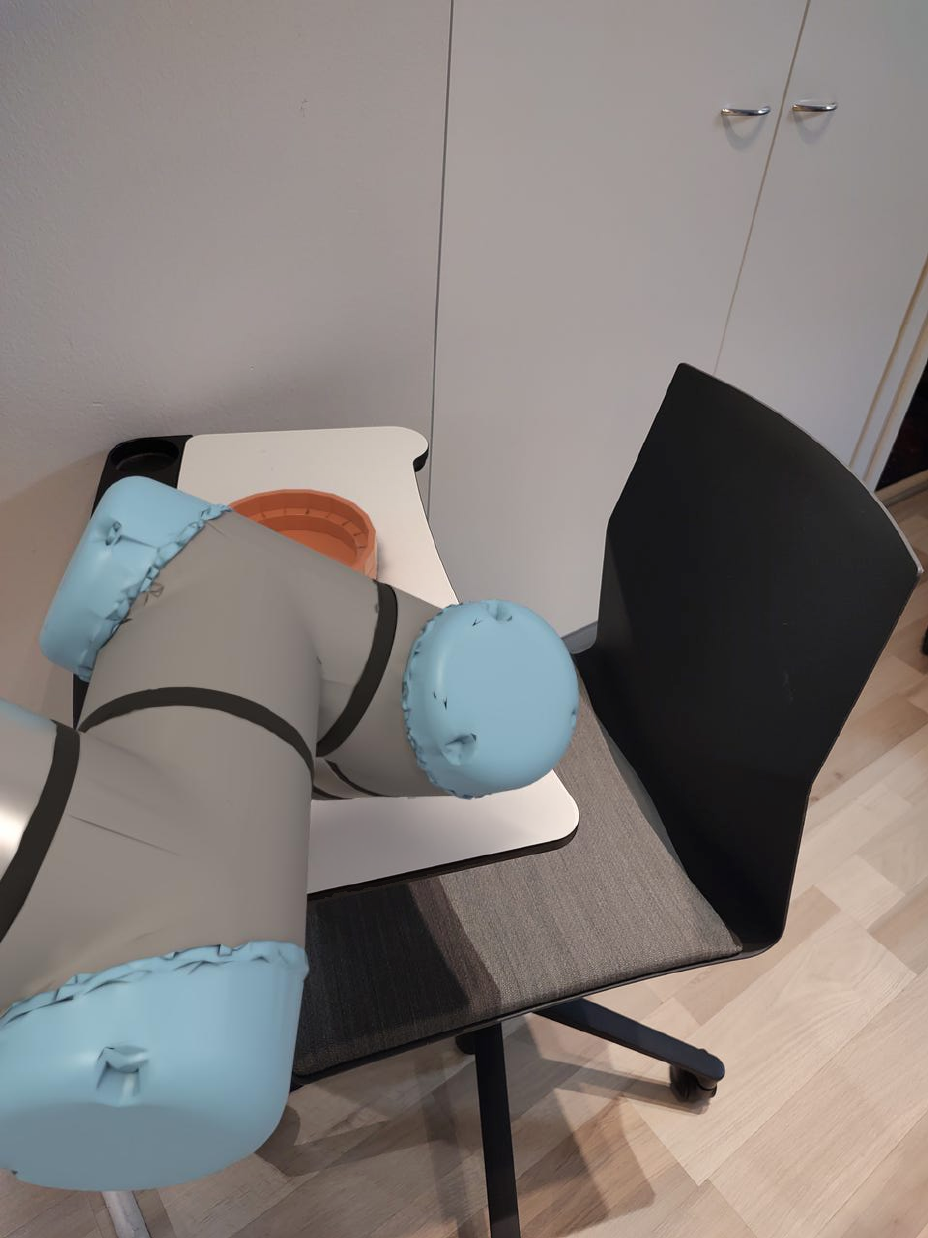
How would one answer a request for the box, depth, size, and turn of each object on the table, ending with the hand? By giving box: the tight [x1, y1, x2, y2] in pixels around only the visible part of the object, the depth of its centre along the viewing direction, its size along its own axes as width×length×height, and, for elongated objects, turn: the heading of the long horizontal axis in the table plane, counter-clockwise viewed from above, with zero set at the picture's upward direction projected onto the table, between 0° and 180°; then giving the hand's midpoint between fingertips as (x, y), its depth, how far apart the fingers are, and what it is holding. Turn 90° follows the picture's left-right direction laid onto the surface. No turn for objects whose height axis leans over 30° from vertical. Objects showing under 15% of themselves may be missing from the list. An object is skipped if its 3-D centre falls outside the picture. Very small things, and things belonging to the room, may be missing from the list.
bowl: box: [226, 488, 378, 580], centre depth 88 cm, size 17×17×4 cm
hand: (220, 752), depth 65 cm, fingers closed on pill bottle, 5 cm apart
